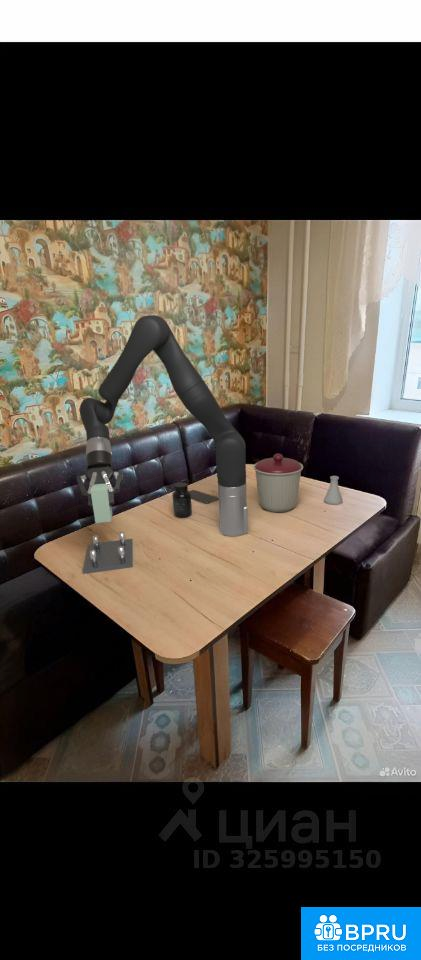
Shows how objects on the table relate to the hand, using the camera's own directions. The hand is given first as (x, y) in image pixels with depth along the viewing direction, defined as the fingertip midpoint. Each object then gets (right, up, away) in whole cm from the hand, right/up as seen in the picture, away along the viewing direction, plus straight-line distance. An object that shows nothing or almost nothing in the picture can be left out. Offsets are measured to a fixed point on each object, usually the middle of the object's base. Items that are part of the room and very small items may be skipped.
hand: (101, 506), depth 117 cm
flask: (+79, -1, +40) cm, 89 cm away
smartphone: (+27, 0, +51) cm, 58 cm away
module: (0, -4, +3) cm, 5 cm away
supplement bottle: (+21, -6, +35) cm, 41 cm away
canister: (+57, -3, +37) cm, 68 cm away
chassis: (0, -16, +8) cm, 18 cm away
